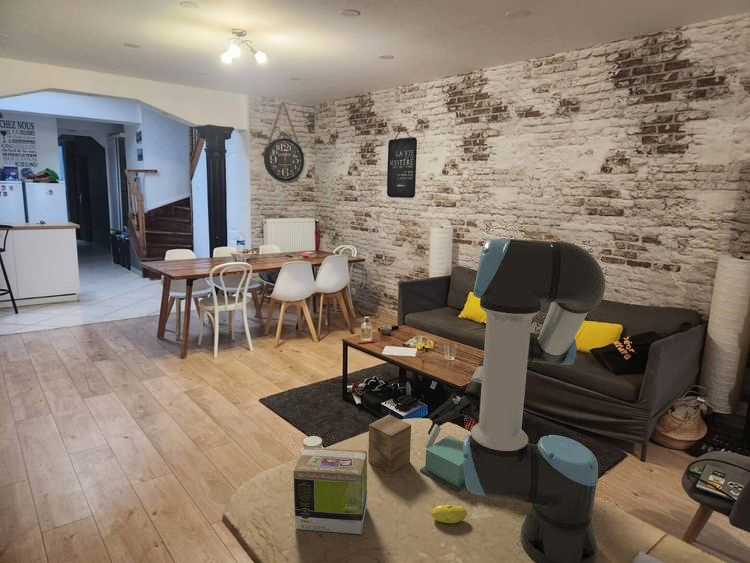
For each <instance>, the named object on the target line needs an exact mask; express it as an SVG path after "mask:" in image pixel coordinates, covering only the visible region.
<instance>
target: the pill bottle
mask: <svg viewBox="0 0 750 563" xmlns="http://www.w3.org/2000/svg"><path fill="white" fill-rule="evenodd" d="M304 447H309V448H324V446H323V438H321V437H320V436H316V435H312V436H311V435H310V436H307V437H306V438H304V439H303V442H302V447H301V449H300V455H301V453H302V451H303V449H304Z"/></svg>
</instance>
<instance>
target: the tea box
mask: <svg viewBox="0 0 750 563" xmlns="http://www.w3.org/2000/svg"><path fill="white" fill-rule="evenodd" d="M367 451H368V450H361V449H358V450H355V449H343V448H342V449H341V448H340V449H339V448H338V449H337V448H329V447H328V448H327V447H323V448H309V447H304V449H303V451H302V453H301V452H300V453H301V455H300V456H299V458H298V460H297V462H296V465H295V466H294V469H293V498H294V499H293V503H294V527H295V529H296V530H305V531H306V530H307V531H318V532H329V533H330V532H331V533H342V534H351V535H352V534H353V535H362V534H363V528H364V522H365V516H366V512H367V511H366V510H367V505H368V504H367V500H368V498H367V497H368V452H367Z"/></svg>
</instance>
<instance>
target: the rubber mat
mask: <svg viewBox="0 0 750 563" xmlns="http://www.w3.org/2000/svg"><path fill="white" fill-rule="evenodd" d="M419 472H420V473H422V474H424V475H426V476H428V477H429V476H430V477H429V478H431V479H433V480H435V481H437V482H438V483H441V484H442V483H443V485H444V486H446V485H447V486H446V487H448V486H449V487H448V488H450V489H451V490H454V491H456V492H458V493H459V492H461V491H462V490H463V489H464V488H466V484H465V481H464V482H463V483H462V484H460V485H459V486H456V485H454V484H452V483H450V482H448V481H446V480H445V479H443V478H441V477H439V476H437V475H435V474H433V473H431V472H429V471H427V470H426V469H425V466H423V467H422V468H420V469H419ZM462 488H463V489H462Z"/></svg>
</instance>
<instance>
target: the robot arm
mask: <svg viewBox="0 0 750 563" xmlns="http://www.w3.org/2000/svg"><path fill="white" fill-rule="evenodd" d="M474 282H475V283H474V286H473V287H474V288H473V293H472V295H473V297H475V298H477V299H479V307H480V309H482V311H483V312H484V313H485V315H486V322H485V335H484V346H483V348H484V350H483V355H482V357H481V359H480V361H479V363H478V366H476V369H475V371H474V373H473V374H472V377H471V378H470V379H471V381H470V382H468V384H467V387H466V388H465V390H464V394H463V396H462V397H460V396H458V395H457V394H456V393H455V392H453V393H452V394H451V395H450V397H449V398H448V399H447V400H446V401H445V402H444V403H442V404H441V405H440V406H439V407H438V408H436V409H435V410H434V411H433V412H432V413H430V414H429V415H428V419H429V420H430V421H431V423H432V424H431V426H430V428H429V430H428V432H427V434H428V437H427V439H426V440H425V442H424V444H423V446H424V447H425V448H426V449H428V448H429V447H431V446H433V445H434V444H435V443H436V440H437V438H438V437H439V434H440V432H441V430H442V427H441V426H442V425H445V424H447V423H448V422H451V421H452V420H454V419H456V418H458V417H462V416H463V417H464V418H466V419H470V420H471V421H474V422H476V424H475V425H473V427H471V430H470V434H468V435H465V436H463V440H462V441H463V454H464V455H463V456H464V477H465V484H466V486H465V488H466V489H467V490H468V492H469V493H471V494H472V495H478V496H483V497H485V498H488V499H489V498H492V499H493V498H494V499H501V500H507V501H514V502H515V501H516V502H520V503H527V504H528V503H529V504H532V505H531V507H530V509H529V511H528V513H527V514H526V516H525V519H524V520H523V523H522V524H521V529H520V543H521V546H522V547H523V550H524V551H525V553H526V554H527V555H528V556H529V557H530V558H531V559H532V560H533V561H535V562H536V563H596V560H597V553H598V544H597V540H596V537H595V531H594V528H593V523H592V521H593V520H592V518H593V512H594V504H595V497H596V491H597V490H596V489H597V485H598V484H599V475H598V474H599V473H598V472H599V463H598V460H597V457H596V456H595V454H594V453H593V452H592V451H591V450H590V449H589V448H588V447H586V446H585V445H583V444H582V443H580V442H578V441H577V440H575V439H572V438H569V437H565V436H562V435H557V434H549V435H545V436H542V437H540V439H539V440H538V442H537V444H535V443H529V437H528V434H526V432H525V431H524V429H522V425H523V415H524V404H525V393H526V383H527V382H526V380H527V371H528V370H527V369H528V362H533V363H539V364H541V363H542V364H550V365H557V366H562V365H568V366H569V365H572V364H574V363H575V360H576V358H577V342H576V337H577V336H576V335H577V334H578V332H579V330H580V328H581V326H583V322H584V321H585V319H586V317H587V315H588V314H589V313H591V312H593V311H595V310H596V308H597V307H598V306H599V305H600V303H601V301H602V300H603V298H604V296H605V291H606V278H605V275H604V271H603V269H602V267H601V265H600V264H599V261H597V260H596V258H595V257H594V256H593V255H592V254H591V253H590V252H588V250H586V249H584V248H583V247H581V246H579V245H577V244H575V243H571V242H568V241H559V240H558V241H550V240H549V241H548V240H547V241H546V240H535V239H534V240H533V239H531V240H530V239H517V238H494V239H493V238H492V239H488V240H487V241H485V243H483V245H482V247H481V252H480V256H479V262H478V267H477V270H476V276H475V281H474ZM542 303H550V305H549V308H548V311H547V314H546V317H545V319H544V321H543V325H542V327H541V330H540V332H531V328H532V327H531V326H532V319H533V318H534V317H535V316H537V315H538V314H540V312H541V309H542V308H541V307H542ZM456 405H457V406H456ZM453 407H454V408H453ZM452 408H453V409H452Z"/></svg>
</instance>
